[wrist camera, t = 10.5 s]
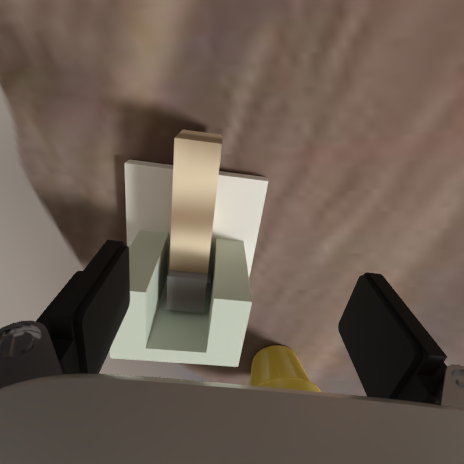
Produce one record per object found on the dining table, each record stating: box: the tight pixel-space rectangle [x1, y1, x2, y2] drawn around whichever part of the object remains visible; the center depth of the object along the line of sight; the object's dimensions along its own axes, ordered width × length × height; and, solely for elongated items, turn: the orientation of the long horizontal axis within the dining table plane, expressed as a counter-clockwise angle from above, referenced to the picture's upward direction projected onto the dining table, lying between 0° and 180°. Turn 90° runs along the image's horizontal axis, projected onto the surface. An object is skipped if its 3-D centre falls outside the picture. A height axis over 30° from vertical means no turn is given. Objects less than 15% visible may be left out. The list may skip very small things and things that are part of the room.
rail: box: [166, 130, 222, 313], centre depth 27 cm, size 16×4×6 cm, turn 173°
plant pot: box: [249, 345, 321, 392], centre depth 38 cm, size 10×10×10 cm
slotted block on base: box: [110, 160, 268, 367], centre depth 27 cm, size 15×14×12 cm
